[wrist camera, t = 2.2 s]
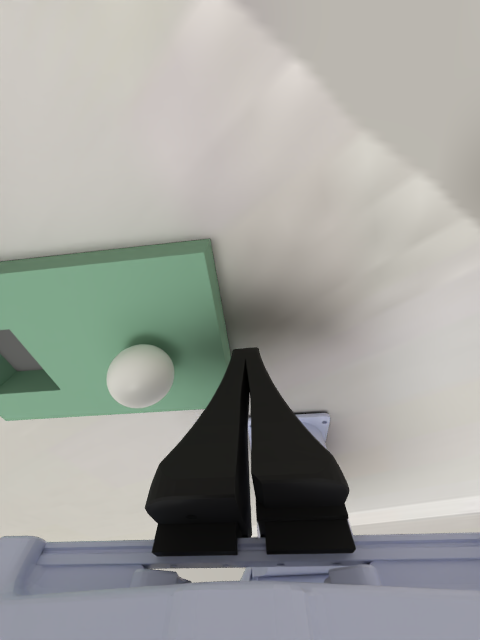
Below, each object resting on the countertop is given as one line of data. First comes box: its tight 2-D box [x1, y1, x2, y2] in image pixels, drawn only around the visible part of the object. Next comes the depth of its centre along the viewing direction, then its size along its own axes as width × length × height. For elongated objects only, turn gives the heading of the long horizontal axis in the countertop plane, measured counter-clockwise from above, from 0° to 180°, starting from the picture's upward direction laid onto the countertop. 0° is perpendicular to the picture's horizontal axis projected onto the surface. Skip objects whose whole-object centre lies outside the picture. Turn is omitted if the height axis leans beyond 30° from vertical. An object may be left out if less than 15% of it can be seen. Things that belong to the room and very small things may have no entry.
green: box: [0, 239, 231, 421], centre depth 15 cm, size 12×19×2 cm, turn 96°
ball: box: [106, 344, 174, 408], centre depth 13 cm, size 4×4×4 cm
